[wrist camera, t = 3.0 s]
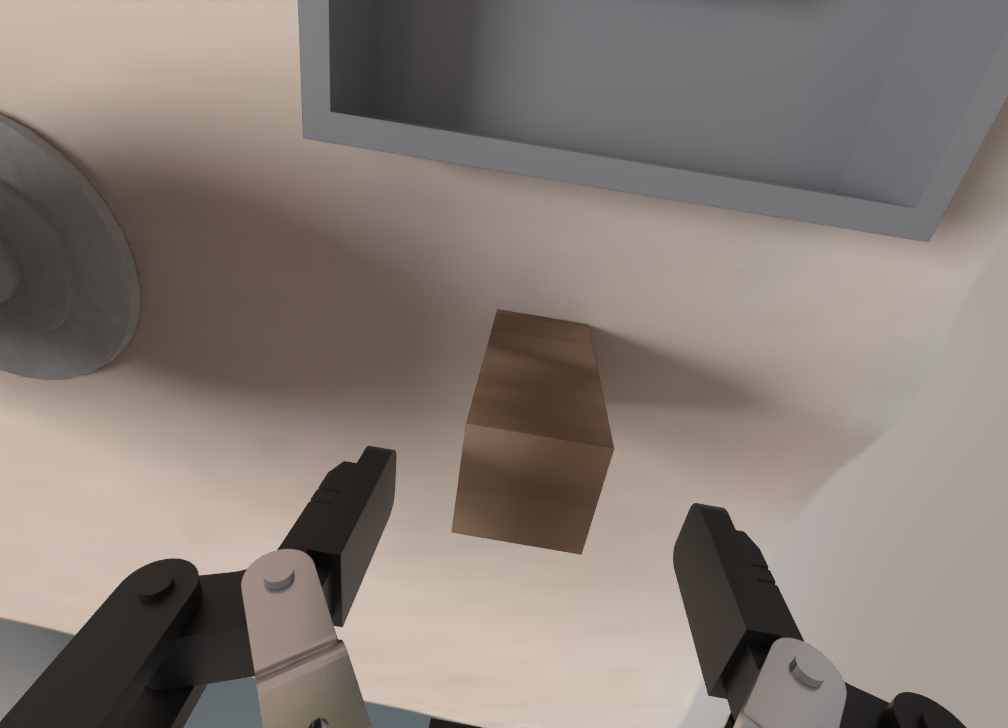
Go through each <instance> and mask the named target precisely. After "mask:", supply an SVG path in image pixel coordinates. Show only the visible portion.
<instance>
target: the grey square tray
mask: <svg viewBox="0 0 1008 728" xmlns="http://www.w3.org/2000/svg"><path fill="white" fill-rule="evenodd" d="M298 15H299V42H300V68H301V95H302V121H303V138H304V139H310V140H316V141H322V142H328V143H334V144H340V145H346V146H352V147H358V148H364V149H370V150H376V151H382V152H388V153H394V154H400V155H406V156H412V157H418V158H424V159H430V160H436V161H442V162H448V163H454V164H460V165H466V166H472V167H478V168H484V169H490V170H497V171H503V172H509V173H515V174H521V175H527V176H533V177H539V178H545V179H551V180H557V181H563V182H569V183H575V184H581V185H587V186H593V187H599V188H605V189H611V190H617V191H623V192H629V193H635V194H641V195H647V196H653V197H659V198H665V199H671V200H677V201H683V202H689V203H695V204H701V205H707V206H713V207H719V208H725V209H731V210H737V211H743V212H749V213H755V214H761V215H767V216H773V217H780V218H786V219H792V220H798V221H804V222H810V223H816V224H822V225H828V226H834V227H840V228H846V229H852V230H858V231H864V232H870V233H876V234H882V235H888V236H894V237H900V238H906V239H912V240H918V241H924V242H929V240H930V239H931V237H932V235H933V233H934V231H935V229H936V228H937V226H938V224H939V222H940V220H941V218H942V217H943V215H944V213H945V211H946V209H947V207H948V205H949V204H950V202H951V200H952V198H953V196H954V194H955V193H956V191H957V189H958V187H959V185H960V183H961V182H962V180H963V178H964V176H965V174H966V172H967V170H968V169H969V167H970V165H971V163H972V161H973V159H974V158H975V156H976V154H977V152H978V150H979V148H980V147H981V145H982V143H983V141H984V139H985V137H986V136H987V134H988V132H989V130H990V128H991V126H992V124H993V123H994V121H995V119H996V117H997V115H998V113H999V112H1000V110H1001V108H1002V106H1003V104H1004V102H1005V101H1006V99H1007V97H1008V0H298Z"/></svg>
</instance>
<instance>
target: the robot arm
mask: <svg viewBox="0 0 1008 728" xmlns="http://www.w3.org/2000/svg"><path fill="white" fill-rule="evenodd" d="M395 477H396V451H395V450H391V449H385V448H379V447H373V446H367V447H366V449H365V450H364V452H363V454H362V455H361V457H360V459H359V460H358V462H357V463H352V462H346V461H344V462H342V463H341V464H340V465H338V466H337V467H335V468H334V469H333V470H331V471H330V472H328V474H327V475H326V477H325V478H324V480H323V481H322V483H321V484H320V486H319V489H318V490H317V491H316V492H315V494H314V495H313V497H312V498H311V501H310V502H309V503H308V504H307V506H306V507H305V509H304V510H303V512H302V513H301V515H300V516H299V518H298V520H297V521H296V523H295V524H294V526H293V527H292V529H291V530H290V532H289V533H288V535H287V536H286V538H285V539H284V541H283V542H282V544H281V545H280V547H279V548H278V550H276V551H273V552H270V553H267V554H265V555H263V556H262V557H260V558H259V559H257V560H256V561H255V562H253V563H252V564H251V565H250V566H249V568H248V569H246V570H242V571H237V572H230V573H220V574H211V575H201V576H199V574H198V571H197V568H196V567H195V566H194V565H193V564H192V563H190V562H189V561H186V560H182V559H164V560H159V561H156V562H153V563H150V564H148V565H145V566H143V567H141V568H139V569H138V570H136V571H135V572H133V573H132V574H130V575H129V576H128V577H127V578H125V579H124V580H123V581H122V582H121V584H120V585H119V586H118V587H117V588H116V589H115V590H114V592H113V593H112V594H111V595H110V596H109V597H108V598H107V600H106V601H105V602H104V603H103V604H102V605H101V607H100V608H99V609H98V610H97V611H96V612H95V613H94V615H93V616H92V617H91V618H90V619H89V620H88V622H87V623H86V624H85V625H84V626H83V627H82V628H81V630H80V631H79V632H78V633H77V634H76V635H75V636H74V638H73V639H72V640H71V641H70V642H69V643H68V645H67V646H66V647H65V648H64V649H63V650H62V652H61V653H60V654H59V655H58V656H57V657H56V658H55V659H54V661H53V662H52V663H51V664H50V665H49V666H48V668H47V669H46V670H45V671H44V672H43V673H42V675H41V676H40V677H39V678H38V679H37V680H36V681H35V682H34V684H33V685H32V686H31V687H30V688H29V689H28V691H27V692H26V693H25V694H24V695H23V696H22V697H21V699H20V700H19V701H18V702H17V703H16V705H15V706H14V707H13V708H12V709H11V710H10V711H9V712H8V714H7V715H6V716H5V717H4V718H3V719H2V721H1V722H0V728H183V727H184V725H185V723H186V721H187V720H188V718H189V716H190V714H191V713H192V711H193V709H194V707H195V706H196V704H197V702H198V700H199V698H200V697H201V695H202V693H203V691H204V690H205V688H206V686H207V684H209V683H215V682H221V681H227V680H233V679H240V678H246V677H252V676H255V678H256V684H257V690H258V697H259V703H260V709H261V716H262V722H263V728H372V727H371V723H370V720H369V717H368V714H367V711H366V707H365V705H364V701H363V698H362V695H361V692H360V689H359V686H358V683H357V680H356V676H355V673H354V670H353V667H352V664H351V661H350V658H349V655H348V652H347V649H346V646H345V644H344V642H343V641H342V640H338V638H337V635H336V632H335V629H334V626H338V627H343V625H344V623H345V620H346V618H347V615H348V613H349V611H350V608H351V606H352V604H353V601H354V599H355V597H356V594H357V592H358V590H359V587H360V585H361V583H362V580H363V578H364V575H365V573H366V571H367V568H368V566H369V564H370V561H371V559H372V557H373V554H374V552H375V550H376V547H377V545H378V542H379V540H380V538H381V535H382V533H383V531H384V528H385V526H386V524H387V521H388V519H389V516H390V514H391V510H392V507H393V502H394V496H395ZM673 564H674V569H675V573H676V577H677V581H678V584H679V588H680V592H681V596H682V599H683V603H684V607H685V610H686V614H687V618H688V622H689V625H690V629H691V633H692V637H693V640H694V644H695V648H696V652H697V655H698V659H699V663H700V666H701V670H702V674H703V678H704V681H705V685H706V688H707V693H708V695H709V696H714V697H719V698H725V699H727V700H728V703H729V706H730V710H731V712H730V713H729V715H728V716H727V718H726V720H725V722H724V725H723V726H722V728H966V727H965V726H964V725H963V724H962V723H961V722H960V721H959V720H958V719H957V718H956V717H955V716H954V715H953V714H952V713H950V712H949V711H948V710H946V709H945V708H944V707H942V706H941V705H939V704H938V703H936V702H935V701H933V700H931V699H929V698H927V697H924V696H922V695H919V694H916V693H911V692H904V693H900V694H898V695H897V696H896V697H895V698H894V699H893V700H892V701H891V703H888V702H886V701H884V700H882V699H880V698H877V697H875V696H873V695H871V694H868V693H867V692H864V691H862V690H860V689H858V688H856V687H854V686H851V685H850V684H848V683H846V682H844V680H843V679H842V676H841V675H840V673H839V672H838V670H837V668H836V667H835V666H834V665H833V663H832V662H831V661H830V660H829V659H828V658H827V657H826V656H824V655H823V654H822V653H821V652H820V651H818V650H817V649H816V648H814V647H812V646H811V645H809V644H807V643H805V642H804V640H803V638H802V636H801V634H800V632H799V630H798V628H797V626H796V624H795V622H794V620H793V617H792V615H791V613H790V611H789V609H788V607H787V605H786V603H785V601H784V599H783V596H782V594H781V593H780V590H779V588H778V586H776V585H775V580H774V578H773V576H772V574H771V572H770V571H769V570H768V565H767V563H766V561H765V559H764V557H763V555H762V553H761V551H760V549H759V548H758V547H757V545H756V544H755V543H754V542H753V541H752V540H751V539H750V538H749V537H748V536H747V534H746V533H745V532H743V531H737V530H735V528H734V525H733V523H732V521H731V519H730V516H729V514H728V512H727V511H726V509H724V508H721V507H715V506H710V505H704V504H698V503H694V504H693V505H692V506H691V508H690V510H689V512H688V514H687V517H686V519H685V522H684V524H683V526H682V529H681V531H680V534H679V536H678V538H677V541H676V543H675V547H674V553H673ZM429 728H481V727H476V726H471V725H465V724H460V723H455V722H449V721H444V720H438V719H433V718H431V720H430V725H429Z"/></svg>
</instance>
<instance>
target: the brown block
mask: <svg viewBox="0 0 1008 728" xmlns="http://www.w3.org/2000/svg"><path fill="white" fill-rule="evenodd" d="M613 451H614V446H613V441H612V436H611V431H610V426H609V422H608V417H607V412H606V407H605V402H604V398H603V393H602V388H601V383H600V378H599V374H598V369H597V364H596V359H595V354H594V350H593V345H592V340H591V335H590V330H589V326H588V325H587V324H581V323H575V322H569V321H563V320H557V319H551V318H545V317H540V316H534V315H528V314H522V313H516V312H510V311H504V310H498V309H497V313H496V316H495V320H494V324H493V327H492V331H491V334H490V338H489V342H488V345H487V349H486V353H485V356H484V360H483V364H482V367H481V371H480V375H479V378H478V382H477V386H476V389H475V393H474V397H473V400H472V404H471V408H470V411H469V415H468V419H467V422H466V428H465V436H464V443H463V451H462V458H461V466H460V473H459V481H458V488H457V496H456V503H455V511H454V518H453V526H452V533H458V534H464V535H470V536H476V537H482V538H488V539H493V540H499V541H505V542H511V543H517V544H523V545H528V546H534V547H540V548H546V549H552V550H558V551H564V552H569V553H575V554H582V551H583V548H584V545H585V541H586V538H587V535H588V532H589V529H590V525H591V522H592V519H593V516H594V512H595V509H596V506H597V503H598V499H599V496H600V493H601V490H602V486H603V483H604V480H605V477H606V473H607V470H608V467H609V464H610V460H611V457H612V454H613Z"/></svg>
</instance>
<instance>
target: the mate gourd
mask: <svg viewBox="0 0 1008 728" xmlns="http://www.w3.org/2000/svg"><path fill="white" fill-rule="evenodd" d="M140 311H141V287H140V281H139V276H138V272H137V267H136V263H135V259H134V256H133V254H132V251H131V249H130V247H129V244H128V242H127V239H126V237H125V234H124V232H123V230H122V228H121V227H120V225H119V223H118V222H117V220H116V218H115V217H114V215H113V213H112V212H111V210H110V208H109V207H108V205H107V203H106V202H105V201H104V199H103V198H102V197H101V196H100V194H99V193H98V192H97V191H96V189H95V188H94V187H93V186H92V184H91V183H90V182H89V181H88V179H87V178H86V177H85V176H84V175H83V174H82V173H81V172H80V171H79V170H78V169H77V168H76V167H75V166H74V165H73V164H72V163H71V162H70V161H69V160H68V159H67V158H66V157H65V156H64V155H63V154H62V153H61V152H60V151H59V150H57V149H56V148H55V147H53V146H52V145H51V144H49V143H48V142H46V141H45V140H44V139H42V138H41V137H40V136H38V135H37V134H36V133H34V132H33V131H32V130H30V129H29V128H27V127H25V126H23V125H21V124H20V123H18V122H16V121H14V120H12V119H10V118H8V117H7V116H5V115H3V114H1V113H0V370H3V371H7V372H10V373H13V374H16V375H20V376H23V377H30V378H37V379H43V380H59V379H71V378H75V377H79V376H83V375H87V374H89V373H91V372H93V371H94V370H96V369H98V368H100V367H102V366H104V365H105V364H107V363H109V362H111V361H113V360H115V359H116V358H117V357H118V356H119V355H120V354H121V353H122V352H123V351H124V350H125V348H126V347H127V346H128V345H129V343H130V341H131V339H132V337H133V335H134V333H135V331H136V330H137V325H138V320H139V316H140Z"/></svg>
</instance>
